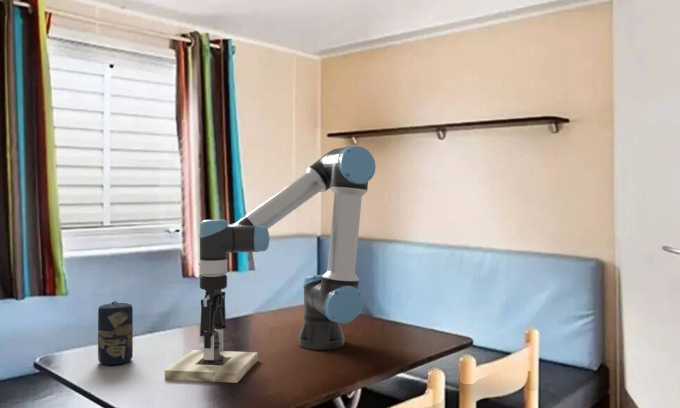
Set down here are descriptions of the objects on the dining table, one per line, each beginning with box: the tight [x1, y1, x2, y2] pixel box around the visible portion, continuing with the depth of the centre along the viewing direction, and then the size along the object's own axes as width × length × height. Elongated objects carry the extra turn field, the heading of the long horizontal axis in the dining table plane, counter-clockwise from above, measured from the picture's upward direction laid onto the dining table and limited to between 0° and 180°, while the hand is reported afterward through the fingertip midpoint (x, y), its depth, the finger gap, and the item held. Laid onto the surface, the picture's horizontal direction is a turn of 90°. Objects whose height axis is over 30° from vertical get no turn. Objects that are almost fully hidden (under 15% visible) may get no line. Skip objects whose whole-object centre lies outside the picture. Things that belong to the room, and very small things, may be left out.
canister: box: [97, 300, 134, 366], centre depth 168 cm, size 10×10×18 cm
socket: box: [164, 349, 258, 384], centre depth 161 cm, size 20×20×2 cm
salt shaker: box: [203, 327, 224, 365], centre depth 161 cm, size 6×6×12 cm
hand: (213, 355), depth 161 cm, fingers open, 7 cm apart
